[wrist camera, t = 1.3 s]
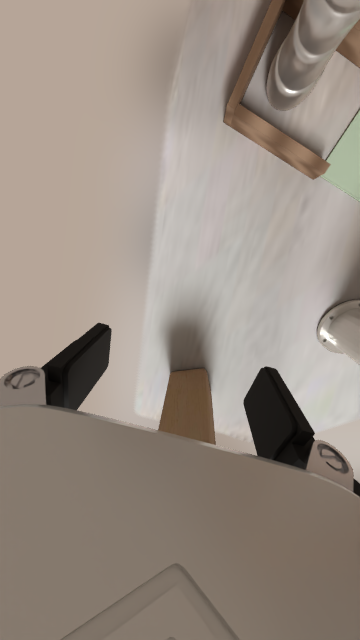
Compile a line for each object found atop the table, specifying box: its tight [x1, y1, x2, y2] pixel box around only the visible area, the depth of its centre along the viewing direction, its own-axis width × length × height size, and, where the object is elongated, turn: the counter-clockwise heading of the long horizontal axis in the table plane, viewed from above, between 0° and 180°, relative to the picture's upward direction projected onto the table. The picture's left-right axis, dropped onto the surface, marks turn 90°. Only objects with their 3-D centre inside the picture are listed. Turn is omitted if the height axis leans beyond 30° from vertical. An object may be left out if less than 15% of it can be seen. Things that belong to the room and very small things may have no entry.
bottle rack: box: [224, 0, 360, 179], centre depth 22 cm, size 17×26×4 cm
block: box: [158, 368, 216, 445], centre depth 41 cm, size 10×10×20 cm
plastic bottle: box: [267, 0, 360, 111], centre depth 17 cm, size 6×7×20 cm
